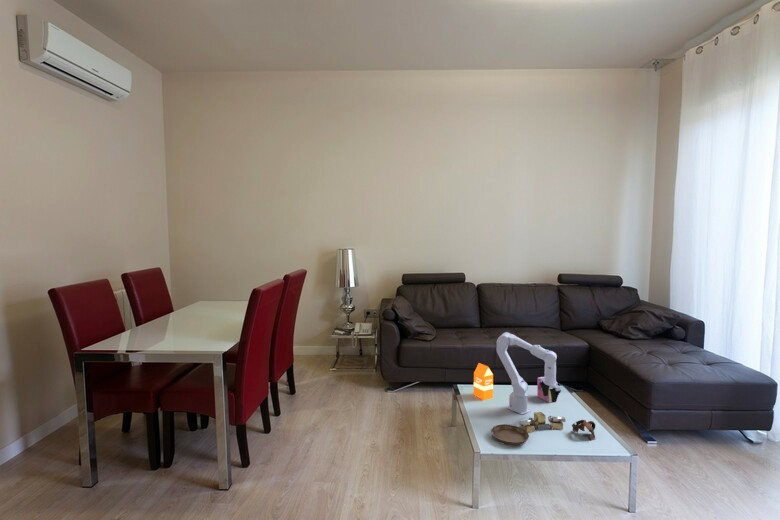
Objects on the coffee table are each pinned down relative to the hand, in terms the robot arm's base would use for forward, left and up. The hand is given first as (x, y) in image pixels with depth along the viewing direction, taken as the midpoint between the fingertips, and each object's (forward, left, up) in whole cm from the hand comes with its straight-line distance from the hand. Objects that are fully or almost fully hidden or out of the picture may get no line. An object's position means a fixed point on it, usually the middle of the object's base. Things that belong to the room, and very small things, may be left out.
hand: (549, 398), depth 208 cm
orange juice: (-39, -8, -10) cm, 41 cm away
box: (-14, +20, -10) cm, 27 cm away
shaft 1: (+2, -22, -10) cm, 25 cm away
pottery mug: (+21, -4, -10) cm, 24 cm away
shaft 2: (+8, -8, -10) cm, 15 cm away
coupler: (+3, -14, -9) cm, 17 cm away
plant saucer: (+1, -36, -10) cm, 37 cm away
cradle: (+3, -14, -10) cm, 17 cm away
